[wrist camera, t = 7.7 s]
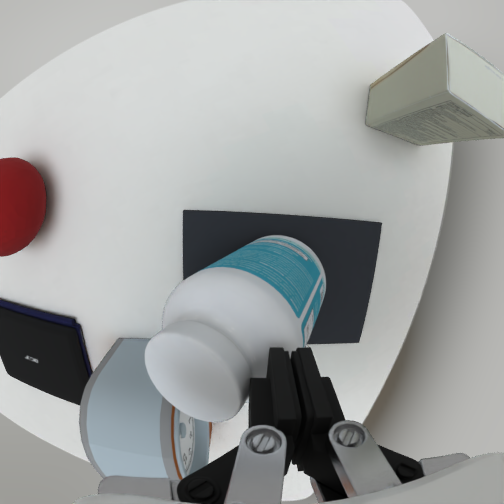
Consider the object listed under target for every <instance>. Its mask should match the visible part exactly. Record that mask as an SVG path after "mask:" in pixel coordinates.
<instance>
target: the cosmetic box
mask: <svg viewBox="0 0 504 504" xmlns="http://www.w3.org/2000/svg"><path fill="white" fill-rule="evenodd" d="M366 125H367V126H370V127H372V128H375V129H378V130H380V131H383V132H385V133H388V134H391V135H393V136H396V137H399V138H401V139H404V140H406V141H409V142H411V143H414V144H416V145H419V146H423V145H431V144H439V143H449V142H458V141H469V140H480V139H495V138H504V74H503V73H502V72H501V71H500V70H498V69H497V68H496V67H495V66H494V65H492V64H491V63H490V62H488V61H487V60H486V59H485V58H483V57H482V56H480V55H479V54H478V53H476V52H475V51H474V50H472V49H471V48H469V47H468V46H467V45H465V44H463V43H462V42H460V41H459V40H457V39H456V38H454V37H452V36H451V35H449V34H447V33H445V34H443V35H442V36H440V37H439V38H437V39H436V40H434V41H433V42H431V43H430V44H428V45H426V46H425V47H423V48H422V49H420V50H419V51H417V52H416V53H414V54H413V55H412V56H410V57H409V58H407V59H406V60H404V61H403V62H401V63H400V64H399V65H397V66H396V67H394V68H393V69H391V70H390V71H389V72H387V73H386V74H384V75H383V76H382V77H380V78H379V79H378V80H376V81H375V82H374V83H372V84H371V85H370V92H369V100H368V108H367V116H366Z"/></svg>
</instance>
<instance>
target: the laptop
mask: <svg viewBox="0 0 504 504" xmlns="http://www.w3.org/2000/svg"><path fill="white" fill-rule="evenodd" d="M82 335H83V334H82V330H81V328H80V324H77V323H75V320H74V319H71V318H66V317H62V316H57V315H53V314H49V313H45V312H41V311H38V310H34V309H30V308H27V307H23V306H20V305H16V304H13V303H9V302H6V301H3V300H0V356H1V359H2V361H3V364H4V366H5V369H6V371H7V373H8V374H9V375H10V376H12V377H14V378H16V379H18V380H20V381H22V382H24V383H26V384H28V385H30V386H32V387H35V388H37V389H39V390H41V391H44V392H46V393H49V394H51V395H53V396H56V397H59V398H61V399H64V400H66V401H69V402H72V403H75V404H78V405H80V404H81V400H82V396H83V393H84V389H85V386H86V384H87V383H88V381H89V379H90V377H91V375H92V372H91V368H90V365H89V361H88V357H87V353H86V350H85V345H84V344H85V343H84V339H83V337H82Z"/></svg>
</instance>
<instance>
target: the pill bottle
mask: <svg viewBox="0 0 504 504" xmlns="http://www.w3.org/2000/svg"><path fill="white" fill-rule="evenodd" d="M325 291H326V277H325V273H324V269H323V266H322V264H321V262H320V260H319V259H318V257H317V256H316V254H315V253H314V252H313V251H312V250H311V249H310V248H309V247H308V246H306V245H305V244H304V243H302V242H300V241H298V240H296V239H294V238H291V237H287V236H282V235H271V236H266V237H262V238H259V239H257V240H255V241H253V242H251V243H249V244H247V245H246V246H244V247H242V248H240V249H238V250H237V251H235V252H233V253H231V254H229V255H228V256H226V257H224V258H222V259H220V260H219V261H217V262H215V263H213V264H211V265H209V266H208V267H206V268H204V269H202V270H200V271H198V272H197V273H195V274H193V275H192V276H190V277H188V278H187V279H185V280H184V281H182V282H181V283H180V284H179V285H178V286H177V287H176V288H175V289H174V290H173V291H172V293H171V294H170V296H169V298H168V300H167V302H166V304H165V307H164V311H163V316H162V330H161V331H160V332H159V333H157V334H156V335H155V336H153V337H152V338H151V340H150V341H149V342H148V344H147V346H146V349H145V365H146V368H147V372H148V374H149V376H150V379H151V380H152V382H153V384H154V385H155V387H156V388H157V390H158V391H159V392H160V393H161V395H162V396H163V397H164V398H165V399H166V400H167V401H168V402H169V403H171V404H172V405H173V406H174V407H176V408H177V409H178V410H180V411H182V412H183V413H185V414H187V415H189V416H191V417H193V418H196V419H199V420H202V421H207V422H223V421H227V420H229V419H231V418H233V417H234V416H235V415H236V414H237V413H238V412H239V411H240V409H241V408H242V406H243V405H244V403H249V389H250V378H266V375H267V366H268V357H269V349H270V347H283V348H284V351H289V356H290V358H291V352H292V351H296V349H297V348H304V347H306V345H307V342H308V340H309V338H310V335H311V332H312V329H313V327H314V324H315V321H316V319H317V316H318V313H319V311H320V308H321V305H322V302H323V299H324V295H325Z"/></svg>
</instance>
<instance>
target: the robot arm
mask: <svg viewBox="0 0 504 504" xmlns="http://www.w3.org/2000/svg"><path fill="white" fill-rule="evenodd" d="M291 459H292V464H293V465H295V464H297V468H298V471H304V473H305V474H307V475H308V476H310V482H311V485H312V488H313V490H314V493H315V495H316V498H317V500H318V503H315V504H504V453H488V454H483V455H479V456H475V457H472V458H470V457H469V456H467V455H465V454H463V453H456V454H451V455H446V456H440V457H433V458H425V459H421V460H420V461H419V462H417V461H416V460H414V459H412V458H409V457H406V456H404V455H401V454H399V453H396V452H394V451H392V450H389V449H387V448H384V447H382V446H380V445H377V444H376V442H375V441H374V439H373V437H372V436H371V434H370V433H369V431H368V429H367V428H366V427H365V426H364V425H362V424H361V423H358V422H356V421H350V420H346V421H345V418H344V415H343V412H342V409H341V407H340V404H339V401H338V399H337V396H336V393H335V390H334V388H333V385H332V382H331V380H330V378H329V377H321V376H320V373H319V370H318V367H317V364H316V361H315V359H314V356H313V353H312V350H311V348H310V347H304V348H297V349H296V351H292V352H291V358H290V356H289V351H284V348H283V347H270V349H269V357H268V366H267V375H266V378H250V389H249V429H247V430H246V431H245V432H244V433H243V434H242V437H241V440H240V444H239V445H238V446H237V447H235V448H234V449H232V450H231V451H229V452H227V453H226V454H224V455H223V456H221V457H219V458H218V459H216V460H214V461H213V462H211V463H209V464H208V465H206V466H204V467H202V468H201V469H199V470H197V471H195V472H193V473H192V474H190V475H188V476H186V477H185V478H183V479H182V480H171V479H170V478H151V477H131V476H119V475H113V476H108V477H105V478H104V479H103V480H102V481H101V482H100V484H99V487H98V494H97V495H89V496H85V497H82V498H79V499H77V500H76V501H74V502H73V503H72V504H281V499H282V489H283V480H284V476H285V475H286V474H287V471H288V468H289V465H290V462H291Z"/></svg>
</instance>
